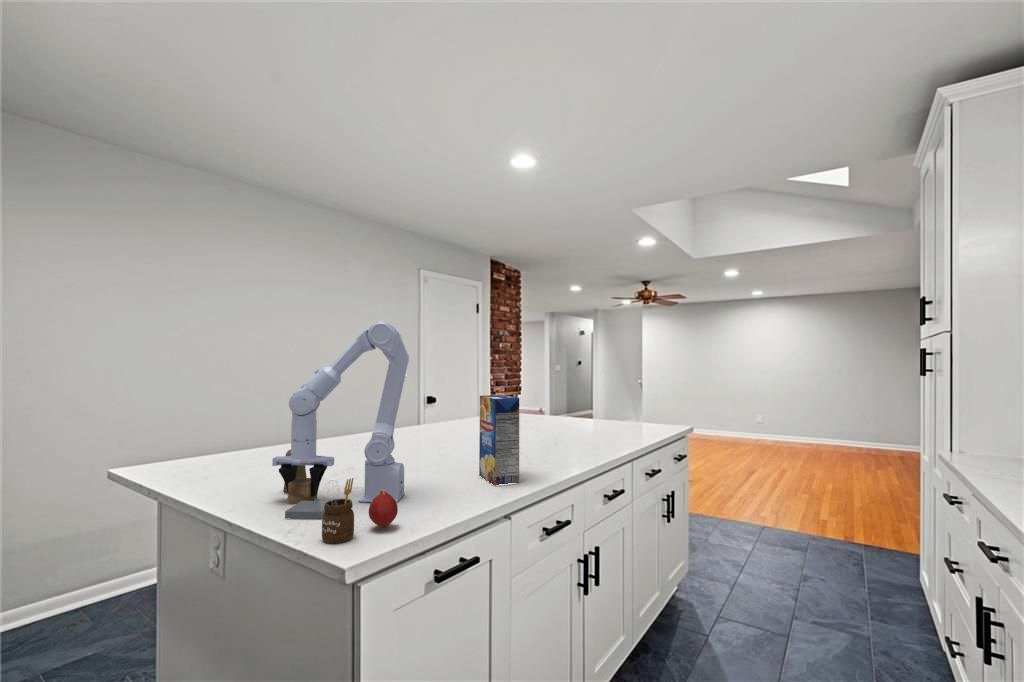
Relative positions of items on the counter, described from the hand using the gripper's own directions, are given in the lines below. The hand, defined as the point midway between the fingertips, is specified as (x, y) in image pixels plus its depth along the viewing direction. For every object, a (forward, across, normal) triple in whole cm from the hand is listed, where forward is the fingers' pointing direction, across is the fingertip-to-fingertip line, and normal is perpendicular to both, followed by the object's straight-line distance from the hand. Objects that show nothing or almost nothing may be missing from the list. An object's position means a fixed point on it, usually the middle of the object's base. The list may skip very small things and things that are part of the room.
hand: (302, 495), depth 118 cm
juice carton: (+2, +47, +22) cm, 52 cm away
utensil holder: (+2, +18, -24) cm, 30 cm away
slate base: (+1, +6, -9) cm, 11 cm away
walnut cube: (+1, 0, 0) cm, 1 cm away
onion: (+2, +25, -18) cm, 31 cm away
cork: (+2, -6, +9) cm, 11 cm away
